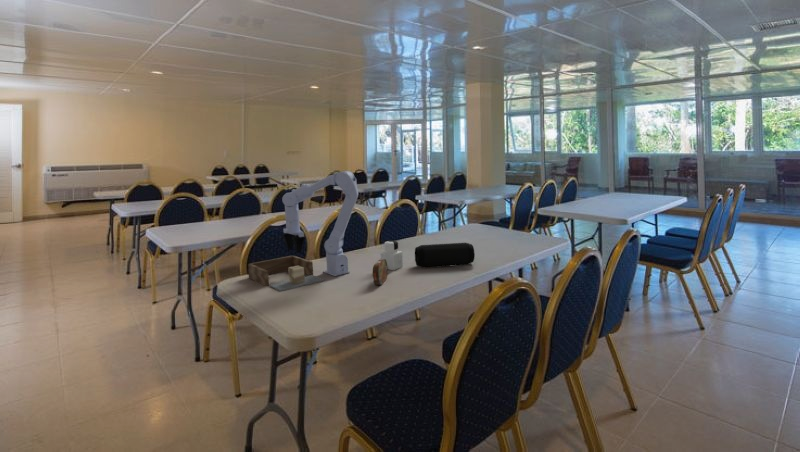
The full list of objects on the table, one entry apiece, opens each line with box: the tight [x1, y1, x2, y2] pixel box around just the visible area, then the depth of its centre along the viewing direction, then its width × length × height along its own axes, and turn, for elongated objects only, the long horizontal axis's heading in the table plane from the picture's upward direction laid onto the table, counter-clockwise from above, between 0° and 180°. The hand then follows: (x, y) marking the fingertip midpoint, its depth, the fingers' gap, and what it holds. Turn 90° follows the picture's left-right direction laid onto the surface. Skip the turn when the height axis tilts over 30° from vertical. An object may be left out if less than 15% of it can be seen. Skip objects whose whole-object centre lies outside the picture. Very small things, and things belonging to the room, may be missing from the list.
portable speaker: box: [414, 242, 476, 268], centre depth 195 cm, size 26×10×10 cm, turn 98°
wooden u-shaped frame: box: [247, 255, 314, 287], centre depth 184 cm, size 17×21×6 cm
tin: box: [372, 258, 389, 286], centre depth 173 cm, size 15×3×8 cm, turn 168°
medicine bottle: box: [380, 240, 404, 271], centre depth 193 cm, size 7×7×12 cm
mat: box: [269, 274, 325, 292], centre depth 174 cm, size 9×19×1 cm, turn 132°
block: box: [287, 266, 306, 285], centre depth 173 cm, size 4×4×6 cm
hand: (294, 251), depth 189 cm, fingers open, 7 cm apart
